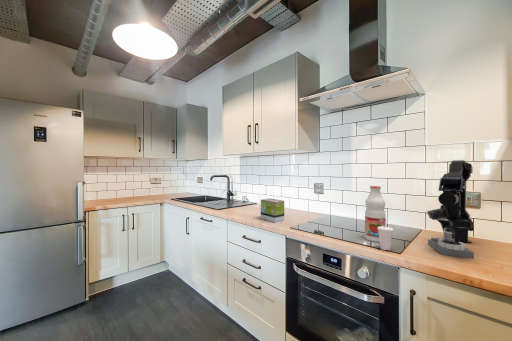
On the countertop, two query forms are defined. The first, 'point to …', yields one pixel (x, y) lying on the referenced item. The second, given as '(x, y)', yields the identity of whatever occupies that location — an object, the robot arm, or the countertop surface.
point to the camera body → (450, 248)
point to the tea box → (272, 210)
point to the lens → (449, 236)
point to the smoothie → (385, 237)
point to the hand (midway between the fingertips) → (451, 238)
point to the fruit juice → (374, 214)
